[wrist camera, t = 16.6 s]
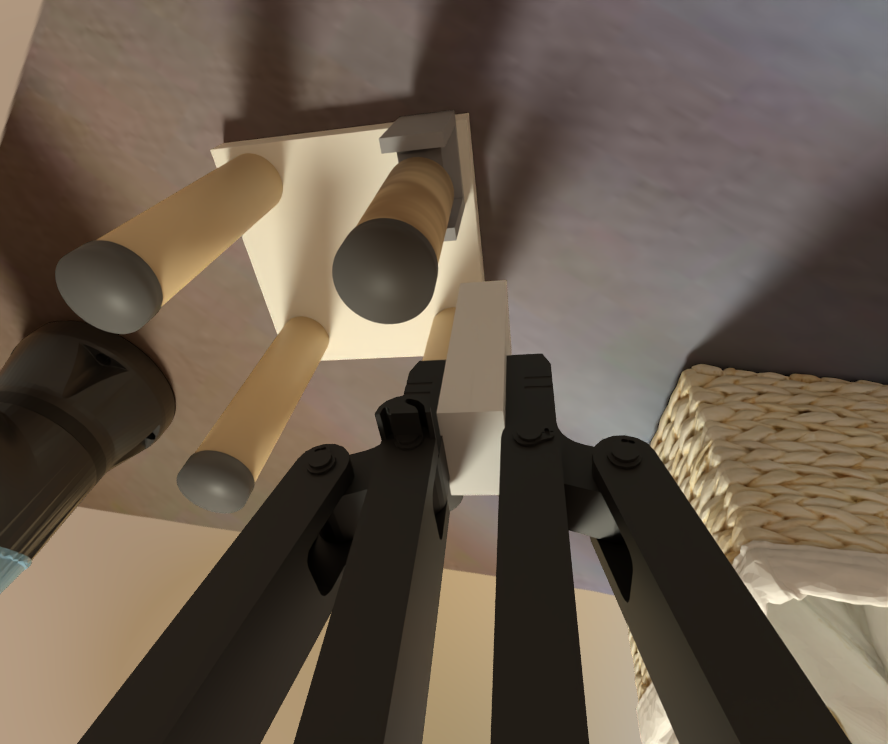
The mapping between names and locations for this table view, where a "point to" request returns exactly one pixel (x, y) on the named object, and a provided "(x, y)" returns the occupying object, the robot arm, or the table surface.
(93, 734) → the robot arm
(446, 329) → the stool seat
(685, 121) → the table surface
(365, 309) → the hinged leg
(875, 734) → the basket
